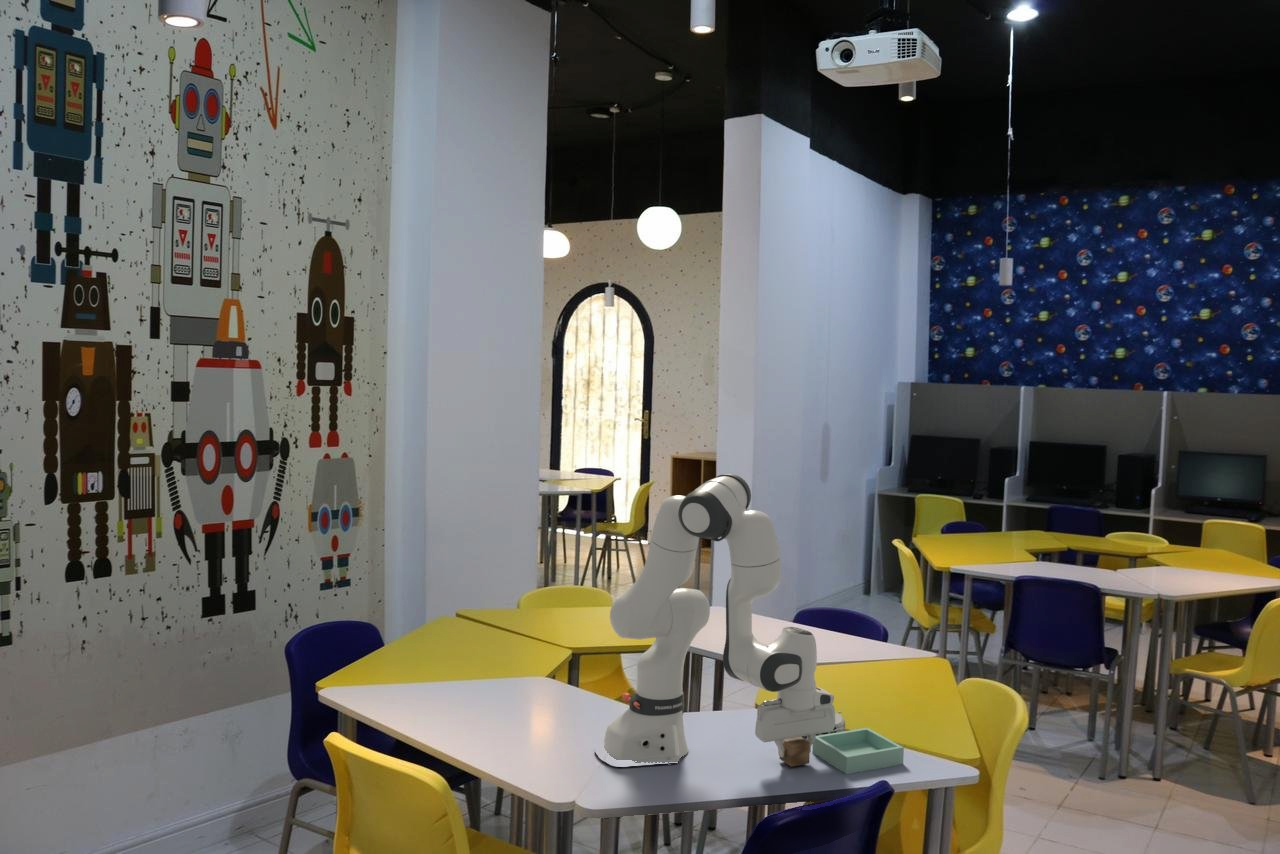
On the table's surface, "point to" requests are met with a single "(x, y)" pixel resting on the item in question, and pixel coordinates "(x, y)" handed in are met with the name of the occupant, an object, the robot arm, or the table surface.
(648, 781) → the table surface
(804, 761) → the block
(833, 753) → the tray
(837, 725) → the robot toy
